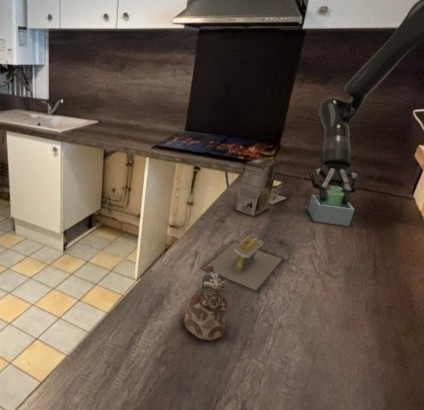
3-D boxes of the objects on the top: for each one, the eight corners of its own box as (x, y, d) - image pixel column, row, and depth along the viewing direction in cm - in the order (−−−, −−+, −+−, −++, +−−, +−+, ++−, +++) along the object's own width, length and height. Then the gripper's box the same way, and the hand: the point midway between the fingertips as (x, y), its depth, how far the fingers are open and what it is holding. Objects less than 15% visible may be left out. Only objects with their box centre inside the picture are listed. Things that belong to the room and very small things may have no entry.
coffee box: (249, 203, 122) (258, 157, 115) (267, 209, 117) (279, 161, 111) (235, 209, 116) (244, 162, 110) (254, 216, 112) (265, 167, 105)
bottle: (334, 214, 113) (343, 186, 109) (338, 220, 109) (348, 191, 105) (317, 211, 114) (325, 184, 111) (320, 218, 110) (329, 189, 106)
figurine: (185, 336, 64) (194, 281, 59) (182, 310, 71) (190, 258, 66) (227, 342, 63) (239, 286, 58) (220, 315, 69) (231, 263, 65)
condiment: (272, 185, 138) (279, 155, 133) (249, 184, 138) (255, 154, 134) (265, 179, 144) (271, 150, 140) (243, 178, 145) (249, 149, 140)
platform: (203, 268, 85) (208, 244, 82) (235, 242, 96) (239, 220, 94) (255, 290, 77) (262, 264, 74) (282, 258, 89) (288, 235, 86)
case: (340, 214, 114) (345, 198, 112) (348, 226, 106) (354, 209, 104) (307, 209, 117) (312, 194, 115) (313, 221, 109) (318, 204, 107)
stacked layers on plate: (262, 190, 133) (265, 176, 131) (286, 197, 126) (290, 183, 124) (247, 196, 128) (250, 181, 125) (272, 204, 121) (276, 189, 119)
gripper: (313, 144, 112) (311, 193, 107) (367, 149, 108) (368, 200, 102) (306, 156, 119) (303, 203, 113) (356, 161, 114) (356, 210, 109)
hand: (334, 201), depth 108 cm, fingers closed on bottle, 4 cm apart
